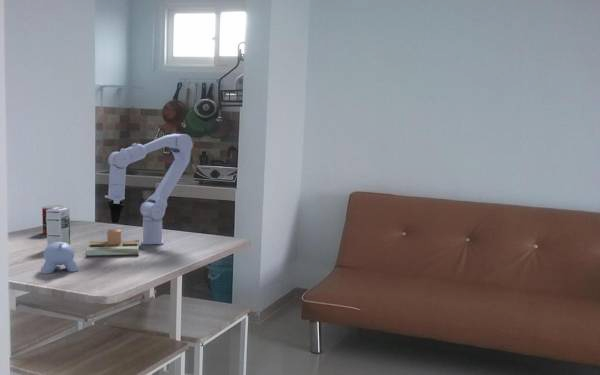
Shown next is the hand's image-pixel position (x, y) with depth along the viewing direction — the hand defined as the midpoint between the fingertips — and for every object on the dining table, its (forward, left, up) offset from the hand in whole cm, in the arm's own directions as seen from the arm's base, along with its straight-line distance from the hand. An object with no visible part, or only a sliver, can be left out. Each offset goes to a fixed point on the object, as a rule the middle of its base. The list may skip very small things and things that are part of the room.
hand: (114, 221), depth 222 cm
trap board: (+9, 0, -10) cm, 13 cm away
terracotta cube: (+6, 0, -7) cm, 9 cm away
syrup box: (0, -19, -10) cm, 22 cm away
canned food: (-31, -25, -10) cm, 41 cm away
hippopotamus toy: (+32, -15, -10) cm, 37 cm away
